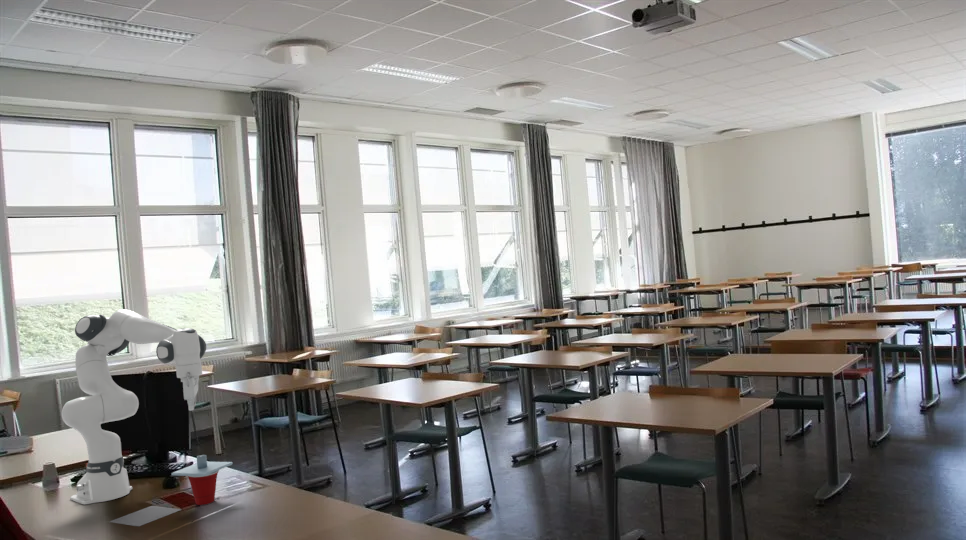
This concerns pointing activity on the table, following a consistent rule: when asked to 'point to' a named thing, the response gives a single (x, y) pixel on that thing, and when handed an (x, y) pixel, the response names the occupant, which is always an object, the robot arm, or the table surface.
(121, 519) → the grey flat square plate
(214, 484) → the plastic cup
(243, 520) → the table surface
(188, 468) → the lid
